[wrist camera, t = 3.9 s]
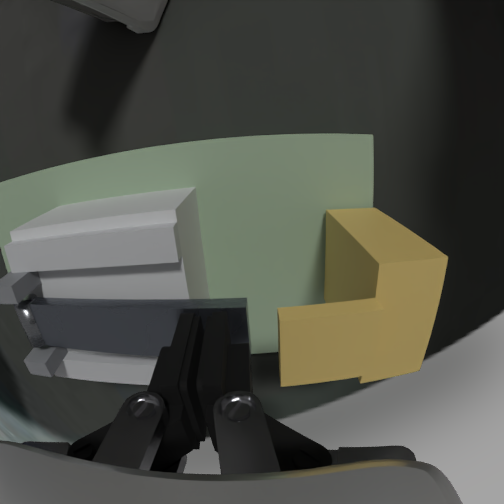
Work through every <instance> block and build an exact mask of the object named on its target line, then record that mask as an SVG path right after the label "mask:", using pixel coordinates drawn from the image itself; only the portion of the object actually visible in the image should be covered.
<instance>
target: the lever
mask: <svg viewBox="0 0 504 504" xmlns="http://www.w3.org/2000/svg"><path fill="white" fill-rule="evenodd" d="M14 307H15V310H16V312H17V315H18V317H19V320H20V322H21V324H22V327H23V329H24V331H25V333H26V336H27V338H28V340H29V342H30V344H31V346H32V347H35V348H39V347H42V346H45V345H49V346H56V347H63V348H70V349H78V350H86V351H95V352H105V353H115V354H127V355H141V356H157V357H158V356H159V353H160V350H161V348H162V347H163V346H171V343H172V339H173V336H174V333H175V330H176V326H177V323H178V320H179V317H180V314H182V313H195V314H196V316H201V319H202V324H203V330H204V332H205V326H206V321H207V316H212V313H213V312H218V311H227V315H228V322H229V330H230V337H231V344H239V343H249V348H250V358H251V336H250V325H249V314H248V302H247V298H218V299H74V298H45V297H37V296H36V294H28V295H27V296H26V297H25V298H24V299H23V300H22V301H21V302H20V303H19V304H14Z"/></svg>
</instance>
